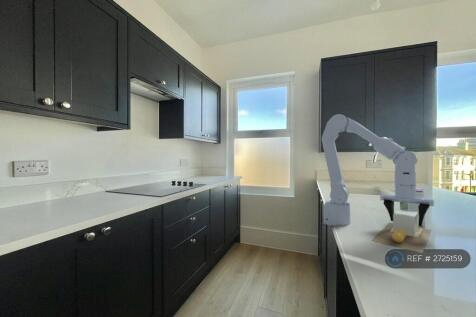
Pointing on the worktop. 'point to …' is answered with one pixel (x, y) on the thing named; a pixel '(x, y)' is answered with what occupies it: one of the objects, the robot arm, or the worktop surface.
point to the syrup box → (414, 205)
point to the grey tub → (406, 221)
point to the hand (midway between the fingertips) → (406, 223)
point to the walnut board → (409, 242)
